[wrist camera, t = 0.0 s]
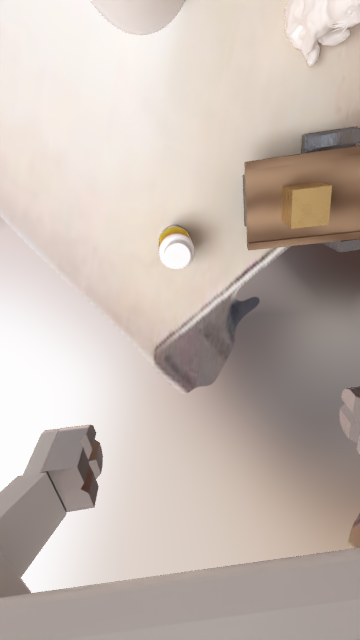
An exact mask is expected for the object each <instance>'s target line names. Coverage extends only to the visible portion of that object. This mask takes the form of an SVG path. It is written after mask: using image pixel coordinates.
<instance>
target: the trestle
mask: <svg viewBox="0 0 360 640" xmlns="http://www.w3.org/2000/svg"><path fill="white" fill-rule="evenodd" d="M358 142H360V128H358V129H357V127H351V128H344V129H337V130H330V131H323V132H316V133H310V134H304V135H302V147H301V154H304V153H311V152H318V151H325V150H332V149H339V148H346V147H353V146H355V143H358ZM243 194H244V224H245V226H246V227H247V222H246V189H245V175H243ZM322 244H324V245H326V246H328V247H330V248H332V249H335V250H337V251H339V252H345V251H352V250H359V249H360V239H352V240H343V241H333V242H324V243H322Z"/></svg>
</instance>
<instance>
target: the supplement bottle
mask: <svg viewBox="0 0 360 640" xmlns="http://www.w3.org/2000/svg"><path fill="white" fill-rule="evenodd" d="M194 254H195V249H194V245H193V242H192V240H191V238H190V236H189V234H188V232H187V231H186V230H185V229H184V228H182V227H180V226H170V227H167V228H166V229H164V230H163V232H162V233H161V235H160V238H159V256H160V259H161V261H162V263H163V264H164V265H165V266H167V267H168V268H171V269H176V270H178V269H183V268H185V267H187V266H188V265H189V264H190V263H191V262H192V260H193V258H194Z"/></svg>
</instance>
